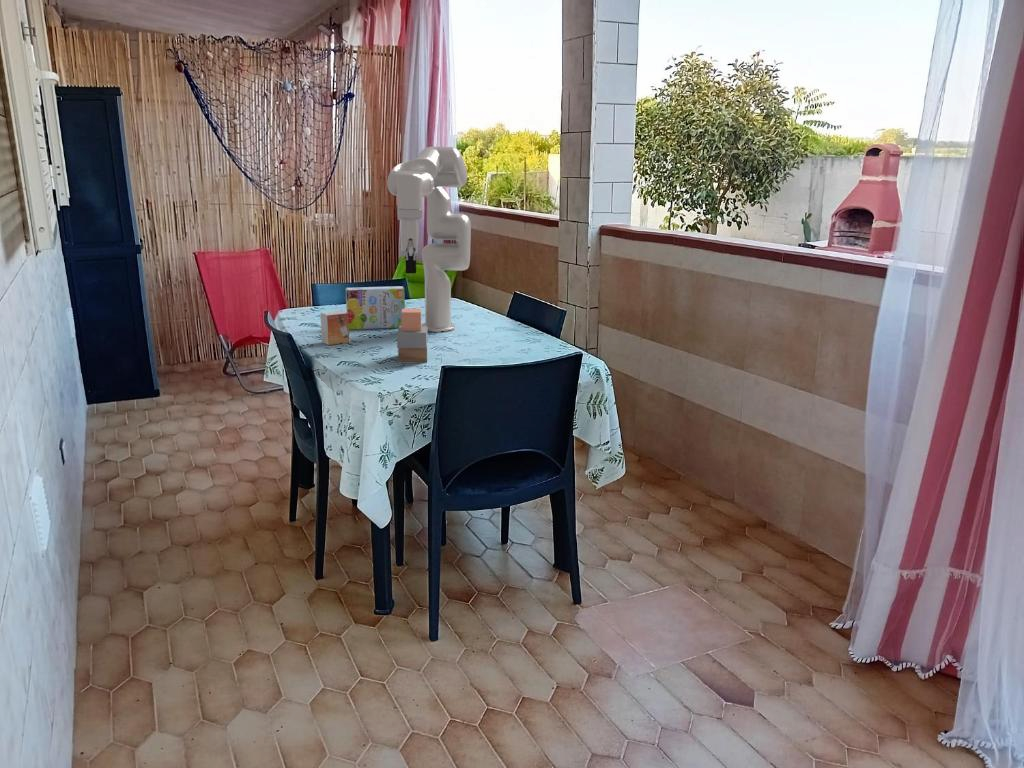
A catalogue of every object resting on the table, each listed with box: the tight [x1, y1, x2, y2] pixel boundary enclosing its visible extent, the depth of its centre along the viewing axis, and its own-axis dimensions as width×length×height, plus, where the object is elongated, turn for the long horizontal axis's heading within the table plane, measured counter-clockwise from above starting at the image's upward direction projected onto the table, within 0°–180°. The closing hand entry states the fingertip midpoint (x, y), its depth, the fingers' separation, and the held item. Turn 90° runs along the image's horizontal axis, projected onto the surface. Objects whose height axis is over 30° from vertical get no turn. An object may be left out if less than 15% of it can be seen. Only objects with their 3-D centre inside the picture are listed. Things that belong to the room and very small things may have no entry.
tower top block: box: [396, 326, 429, 349], centre depth 246 cm, size 9×9×5 cm
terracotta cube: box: [401, 308, 422, 331], centre depth 245 cm, size 6×6×6 cm
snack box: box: [345, 285, 406, 330], centre depth 288 cm, size 21×6×15 cm, turn 104°
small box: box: [320, 310, 350, 346], centre depth 265 cm, size 8×6×10 cm
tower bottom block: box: [397, 346, 428, 363], centre depth 248 cm, size 9×9×5 cm
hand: (410, 270), depth 241 cm, fingers open, 9 cm apart
